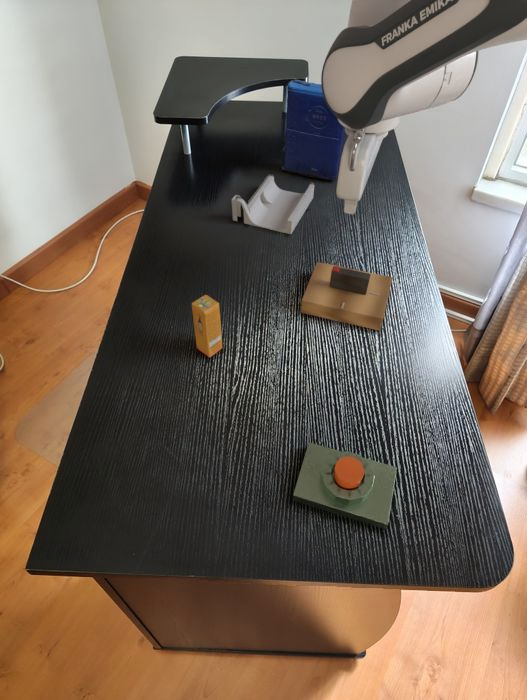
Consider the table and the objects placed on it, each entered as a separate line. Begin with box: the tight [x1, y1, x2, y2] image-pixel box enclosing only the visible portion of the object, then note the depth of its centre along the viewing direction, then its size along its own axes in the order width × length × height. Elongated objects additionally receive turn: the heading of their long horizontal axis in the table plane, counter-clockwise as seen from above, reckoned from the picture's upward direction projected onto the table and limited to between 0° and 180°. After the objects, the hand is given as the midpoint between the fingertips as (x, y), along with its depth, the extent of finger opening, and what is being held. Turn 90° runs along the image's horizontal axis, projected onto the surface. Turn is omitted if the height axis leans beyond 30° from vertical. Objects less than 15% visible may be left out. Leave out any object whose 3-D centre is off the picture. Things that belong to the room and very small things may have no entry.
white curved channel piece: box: [231, 175, 315, 235], centre depth 103 cm, size 15×13×5 cm
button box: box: [292, 442, 398, 530], centre depth 62 cm, size 12×8×4 cm, turn 72°
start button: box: [333, 457, 364, 489], centre depth 60 cm, size 4×4×2 cm
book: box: [281, 79, 347, 181], centre depth 107 cm, size 14×5×20 cm, turn 67°
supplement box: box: [191, 294, 224, 358], centre depth 75 cm, size 3×3×10 cm
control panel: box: [300, 261, 393, 331], centre depth 85 cm, size 14×11×3 cm
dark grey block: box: [329, 265, 371, 295], centre depth 82 cm, size 6×2×4 cm, turn 72°
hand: (355, 195), depth 78 cm, fingers open, 8 cm apart
